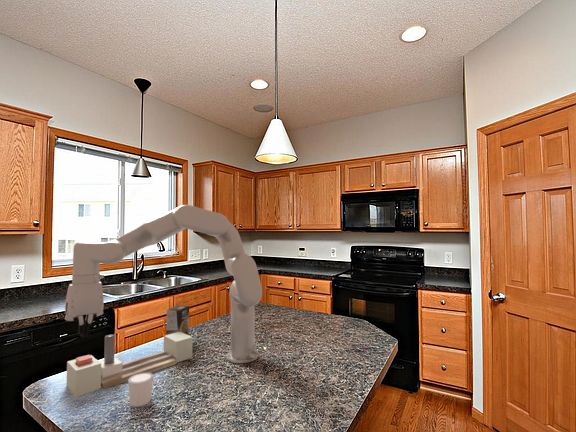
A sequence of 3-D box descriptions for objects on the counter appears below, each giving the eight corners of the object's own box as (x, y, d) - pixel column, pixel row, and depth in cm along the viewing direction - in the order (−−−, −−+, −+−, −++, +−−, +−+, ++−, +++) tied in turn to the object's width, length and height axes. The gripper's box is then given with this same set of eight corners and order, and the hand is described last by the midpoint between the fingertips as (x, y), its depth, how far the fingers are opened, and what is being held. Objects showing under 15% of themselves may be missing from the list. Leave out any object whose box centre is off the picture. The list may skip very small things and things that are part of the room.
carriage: (122, 371, 107) (123, 336, 107) (102, 377, 102) (103, 340, 103) (114, 365, 111) (115, 331, 112) (95, 371, 107) (96, 335, 107)
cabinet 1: (100, 388, 100) (101, 363, 101) (75, 397, 95) (75, 370, 96) (90, 378, 107) (91, 355, 107) (66, 386, 102) (67, 361, 102)
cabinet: (192, 357, 125) (192, 337, 125) (176, 362, 120) (176, 341, 120) (179, 350, 132) (179, 331, 132) (163, 355, 126) (163, 335, 127)
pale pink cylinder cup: (133, 395, 96) (133, 372, 97) (156, 394, 97) (156, 371, 97) (123, 408, 89) (124, 383, 90) (148, 407, 90) (148, 382, 90)
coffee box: (178, 348, 134) (179, 310, 135) (165, 347, 136) (165, 309, 136) (189, 340, 143) (189, 305, 144) (176, 339, 145) (177, 304, 145)
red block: (91, 370, 101) (92, 357, 102) (79, 374, 99) (79, 361, 99) (88, 367, 104) (88, 354, 104) (75, 370, 101) (76, 357, 101)
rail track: (176, 364, 119) (176, 357, 119) (103, 389, 100) (103, 381, 100) (161, 355, 127) (161, 349, 127) (91, 377, 108) (91, 369, 108)
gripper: (107, 275, 111) (105, 328, 110) (55, 280, 99) (53, 339, 99) (114, 278, 106) (113, 333, 105) (61, 283, 94) (59, 344, 94)
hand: (84, 335), depth 102 cm, fingers closed
